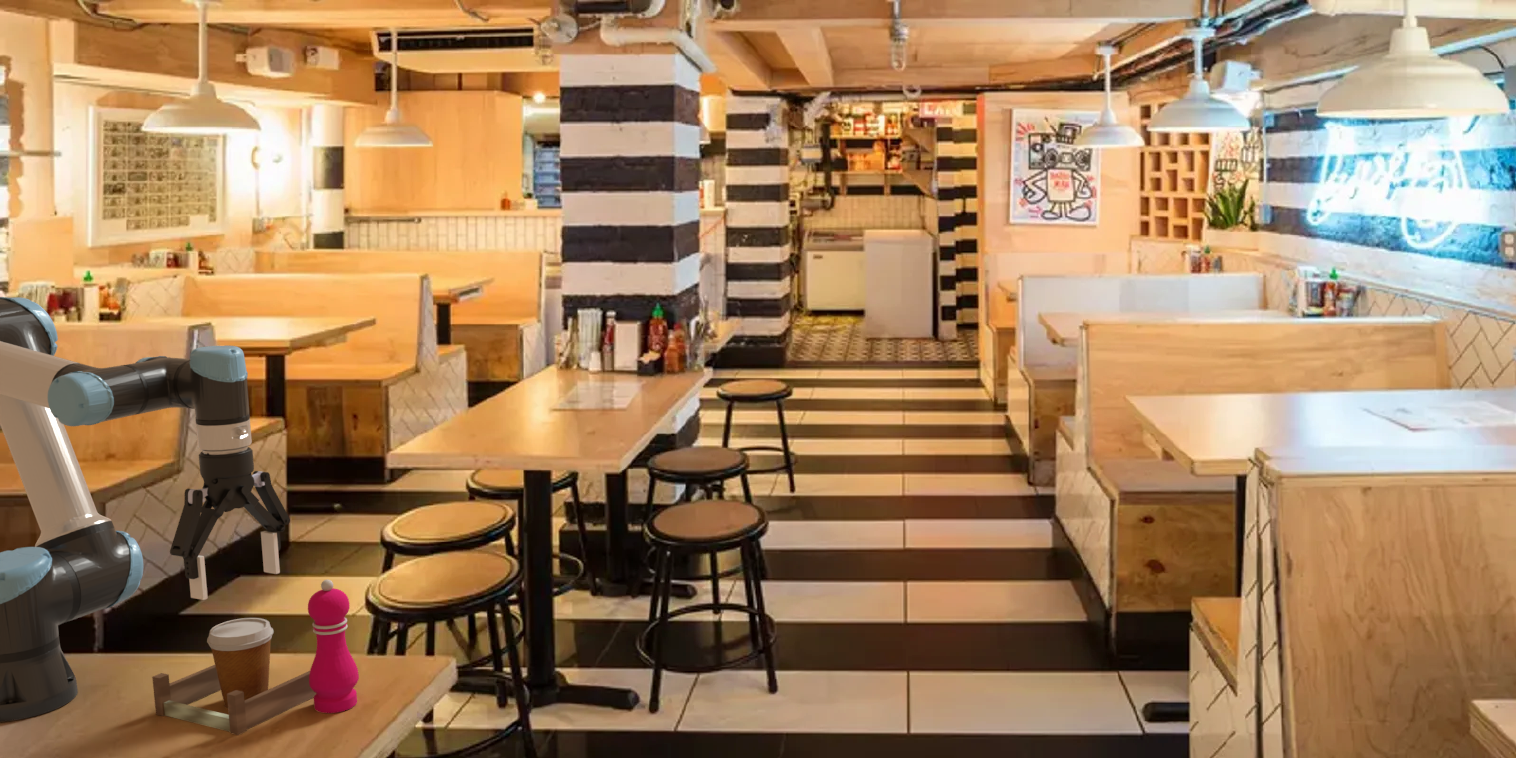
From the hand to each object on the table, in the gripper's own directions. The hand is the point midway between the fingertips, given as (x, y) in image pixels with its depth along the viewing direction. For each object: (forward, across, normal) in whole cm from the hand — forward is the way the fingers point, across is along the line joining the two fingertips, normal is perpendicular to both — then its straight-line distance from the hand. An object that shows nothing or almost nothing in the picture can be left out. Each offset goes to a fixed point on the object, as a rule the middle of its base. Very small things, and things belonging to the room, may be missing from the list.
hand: (236, 585), depth 193 cm
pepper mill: (+19, +5, -14) cm, 24 cm away
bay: (+19, +1, 0) cm, 19 cm away
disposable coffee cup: (+19, 0, 0) cm, 19 cm away
